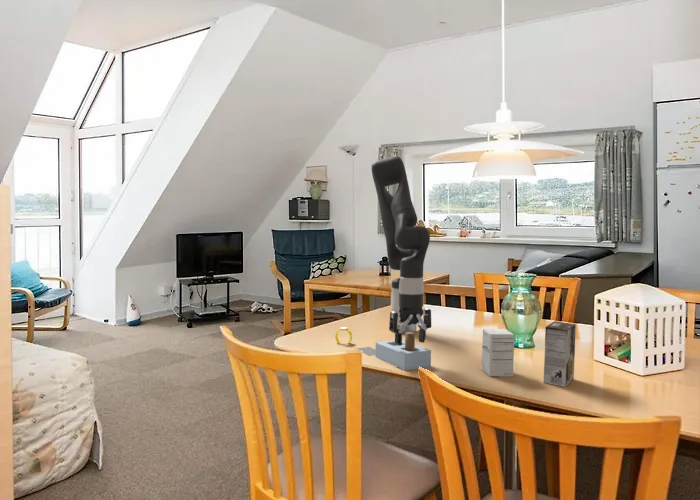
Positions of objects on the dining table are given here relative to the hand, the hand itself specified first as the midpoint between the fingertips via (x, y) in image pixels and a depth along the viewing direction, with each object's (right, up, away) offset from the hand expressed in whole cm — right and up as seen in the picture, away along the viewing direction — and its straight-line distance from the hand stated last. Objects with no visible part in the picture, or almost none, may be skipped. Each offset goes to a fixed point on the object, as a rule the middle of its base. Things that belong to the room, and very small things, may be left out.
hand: (410, 343), depth 176 cm
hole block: (-2, -6, +4) cm, 8 cm away
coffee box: (+41, -9, -14) cm, 44 cm away
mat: (-12, -5, +15) cm, 20 cm away
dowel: (0, -7, 0) cm, 7 cm away
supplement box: (+25, -8, -7) cm, 27 cm away
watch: (-21, -5, +27) cm, 34 cm away
